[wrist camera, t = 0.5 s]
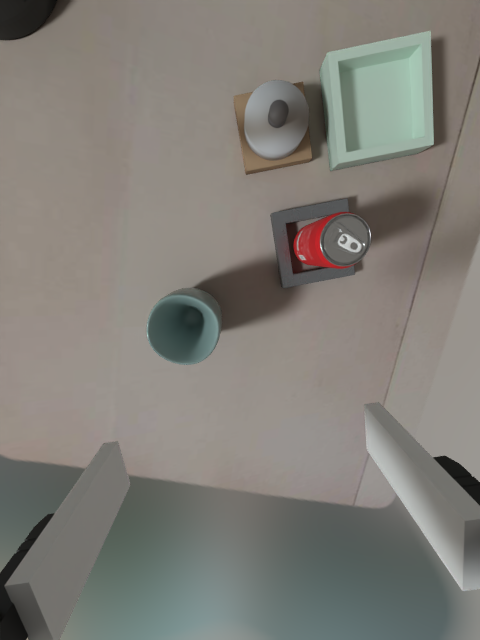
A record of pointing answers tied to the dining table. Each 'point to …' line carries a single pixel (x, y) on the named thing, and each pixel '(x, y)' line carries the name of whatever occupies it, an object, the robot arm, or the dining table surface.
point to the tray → (378, 100)
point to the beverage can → (333, 241)
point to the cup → (185, 326)
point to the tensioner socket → (282, 244)
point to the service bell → (273, 126)
